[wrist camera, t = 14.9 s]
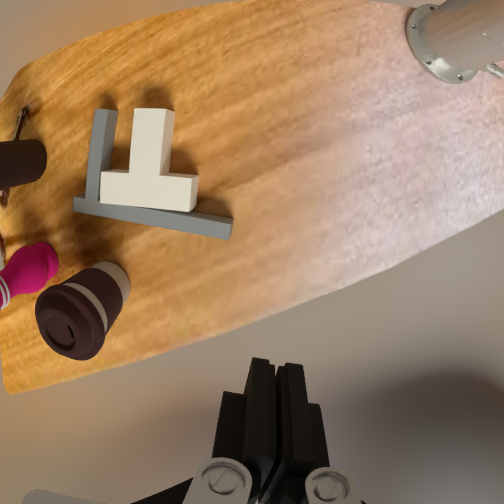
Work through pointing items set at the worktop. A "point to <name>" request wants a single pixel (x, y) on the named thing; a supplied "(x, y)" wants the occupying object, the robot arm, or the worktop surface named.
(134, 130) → the t block
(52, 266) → the pepper mill
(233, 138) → the worktop surface
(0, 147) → the bottle
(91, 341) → the coffee cup
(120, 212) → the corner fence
